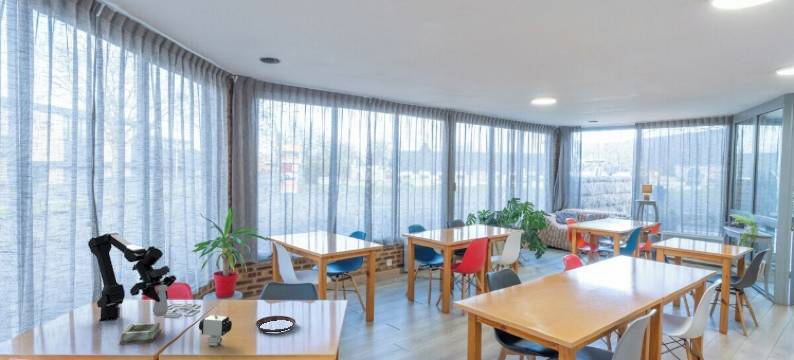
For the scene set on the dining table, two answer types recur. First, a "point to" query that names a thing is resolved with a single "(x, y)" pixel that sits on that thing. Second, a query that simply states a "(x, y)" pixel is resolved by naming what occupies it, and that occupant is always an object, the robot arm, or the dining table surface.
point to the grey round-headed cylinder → (161, 301)
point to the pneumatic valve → (215, 328)
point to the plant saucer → (274, 318)
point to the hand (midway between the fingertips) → (163, 300)
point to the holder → (140, 333)
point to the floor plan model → (183, 307)
